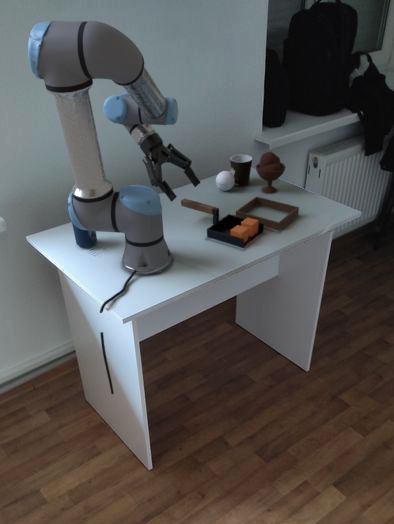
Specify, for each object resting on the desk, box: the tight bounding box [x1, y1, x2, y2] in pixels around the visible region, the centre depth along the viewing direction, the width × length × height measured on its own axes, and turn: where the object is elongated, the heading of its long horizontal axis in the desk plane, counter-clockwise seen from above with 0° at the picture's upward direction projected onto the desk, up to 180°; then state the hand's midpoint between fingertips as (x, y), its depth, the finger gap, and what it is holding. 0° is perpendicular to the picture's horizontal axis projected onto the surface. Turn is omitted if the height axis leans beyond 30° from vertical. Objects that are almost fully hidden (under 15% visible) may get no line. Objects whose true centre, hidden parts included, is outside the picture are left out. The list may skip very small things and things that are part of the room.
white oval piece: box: [215, 170, 235, 192], centre depth 195 cm, size 10×7×7 cm
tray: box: [235, 196, 300, 232], centre depth 177 cm, size 17×14×4 cm
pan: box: [180, 198, 265, 249], centre depth 170 cm, size 29×13×8 cm, turn 54°
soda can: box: [71, 221, 98, 250], centre depth 164 cm, size 7×7×12 cm
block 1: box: [231, 225, 249, 243], centre depth 164 cm, size 4×4×4 cm
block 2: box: [241, 218, 259, 237], centre depth 167 cm, size 4×4×4 cm
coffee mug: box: [229, 153, 253, 188], centre depth 200 cm, size 12×9×10 cm
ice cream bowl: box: [255, 151, 286, 194], centre depth 191 cm, size 11×11×15 cm
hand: (186, 191), depth 171 cm, fingers open, 13 cm apart
